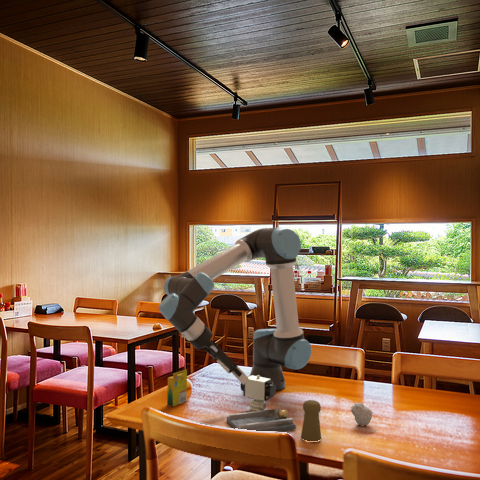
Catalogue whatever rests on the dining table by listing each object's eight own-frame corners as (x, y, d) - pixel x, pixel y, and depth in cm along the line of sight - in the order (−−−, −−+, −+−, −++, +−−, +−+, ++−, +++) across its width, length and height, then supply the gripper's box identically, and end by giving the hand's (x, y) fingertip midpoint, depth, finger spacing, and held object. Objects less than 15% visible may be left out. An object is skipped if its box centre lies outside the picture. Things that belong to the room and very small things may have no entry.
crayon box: (180, 400, 164) (181, 367, 165) (186, 401, 163) (187, 369, 163) (166, 405, 158) (167, 371, 159) (172, 407, 157) (173, 373, 157)
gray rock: (348, 421, 147) (349, 399, 147) (370, 422, 147) (370, 400, 147) (352, 428, 141) (353, 406, 141) (375, 429, 141) (375, 407, 141)
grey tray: (276, 415, 151) (277, 403, 151) (295, 429, 139) (296, 416, 139) (226, 421, 145) (226, 409, 145) (241, 437, 132) (242, 423, 133)
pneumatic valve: (269, 416, 150) (270, 379, 151) (239, 408, 157) (240, 374, 157) (276, 411, 155) (277, 376, 155) (247, 404, 161) (248, 370, 162)
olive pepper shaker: (298, 434, 135) (299, 397, 136) (318, 434, 136) (319, 397, 136) (303, 443, 129) (304, 404, 130) (323, 443, 130) (324, 404, 130)
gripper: (179, 334, 158) (218, 374, 164) (199, 349, 135) (244, 395, 140) (194, 319, 160) (232, 358, 166) (217, 331, 137) (260, 377, 142)
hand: (238, 375), depth 153 cm, fingers open, 13 cm apart
